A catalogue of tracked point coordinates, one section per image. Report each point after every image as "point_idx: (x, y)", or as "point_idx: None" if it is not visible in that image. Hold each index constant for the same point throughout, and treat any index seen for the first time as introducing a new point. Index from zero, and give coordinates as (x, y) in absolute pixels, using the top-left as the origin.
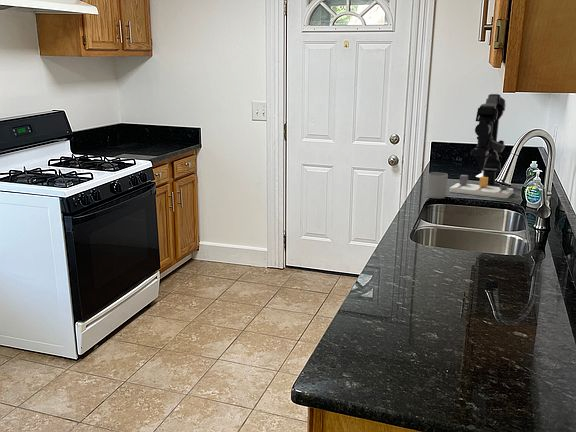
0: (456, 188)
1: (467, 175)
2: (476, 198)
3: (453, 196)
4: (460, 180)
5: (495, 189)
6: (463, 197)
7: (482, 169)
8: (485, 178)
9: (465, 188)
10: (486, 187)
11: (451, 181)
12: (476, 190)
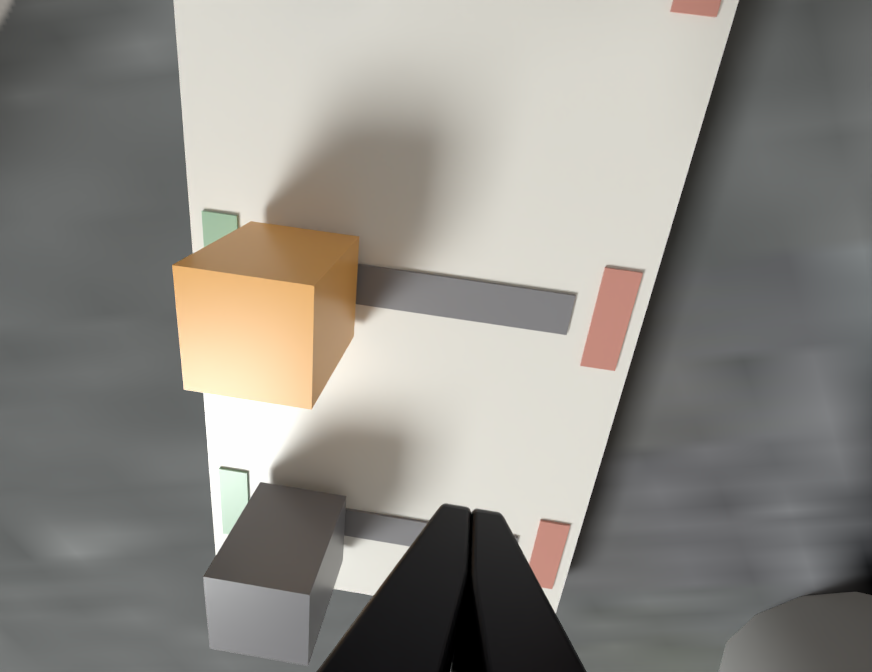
0: (568, 564)
1: (223, 586)
2: (867, 285)
3: (794, 534)
4: (330, 594)
5: (419, 54)
6: (831, 437)
7: (499, 523)
8: (313, 306)
9: (535, 479)
10: (322, 225)
11: (11, 593)
12: (631, 340)
